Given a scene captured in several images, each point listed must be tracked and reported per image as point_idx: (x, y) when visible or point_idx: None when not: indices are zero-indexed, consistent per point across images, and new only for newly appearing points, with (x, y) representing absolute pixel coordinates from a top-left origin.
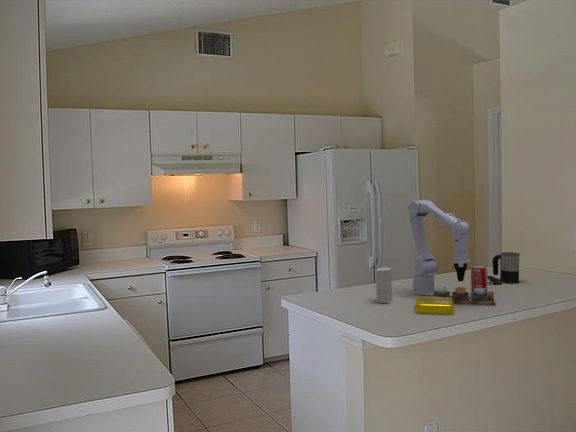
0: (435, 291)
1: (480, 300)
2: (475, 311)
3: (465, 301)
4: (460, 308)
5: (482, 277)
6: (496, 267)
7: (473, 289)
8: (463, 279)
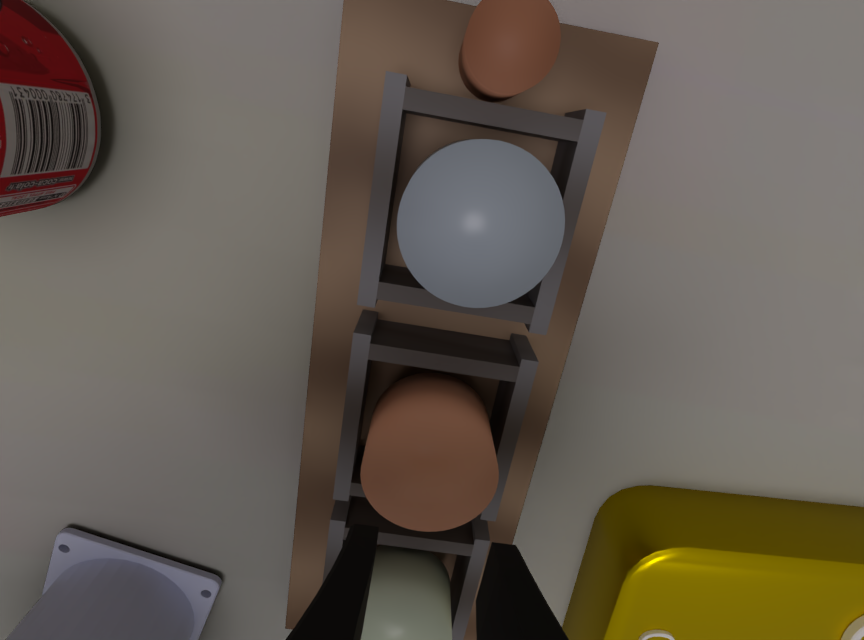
0: None
1: None
2: (841, 327)
3: (551, 375)
4: (700, 431)
5: None
6: None
7: (34, 200)
8: (526, 568)
